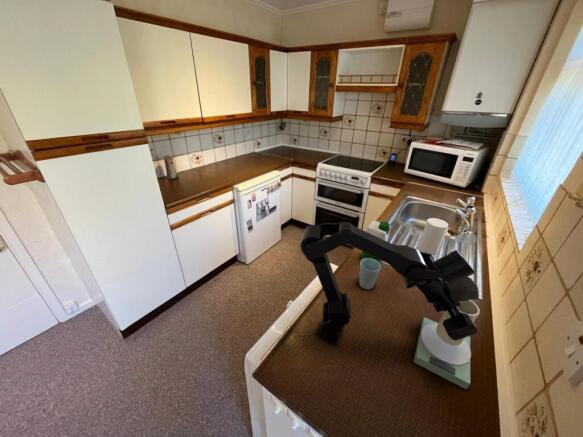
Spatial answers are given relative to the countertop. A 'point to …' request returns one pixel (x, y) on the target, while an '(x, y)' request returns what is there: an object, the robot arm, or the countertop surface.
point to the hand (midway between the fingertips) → (461, 320)
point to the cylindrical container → (432, 236)
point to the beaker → (465, 308)
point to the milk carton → (377, 235)
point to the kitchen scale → (443, 355)
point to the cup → (368, 272)
